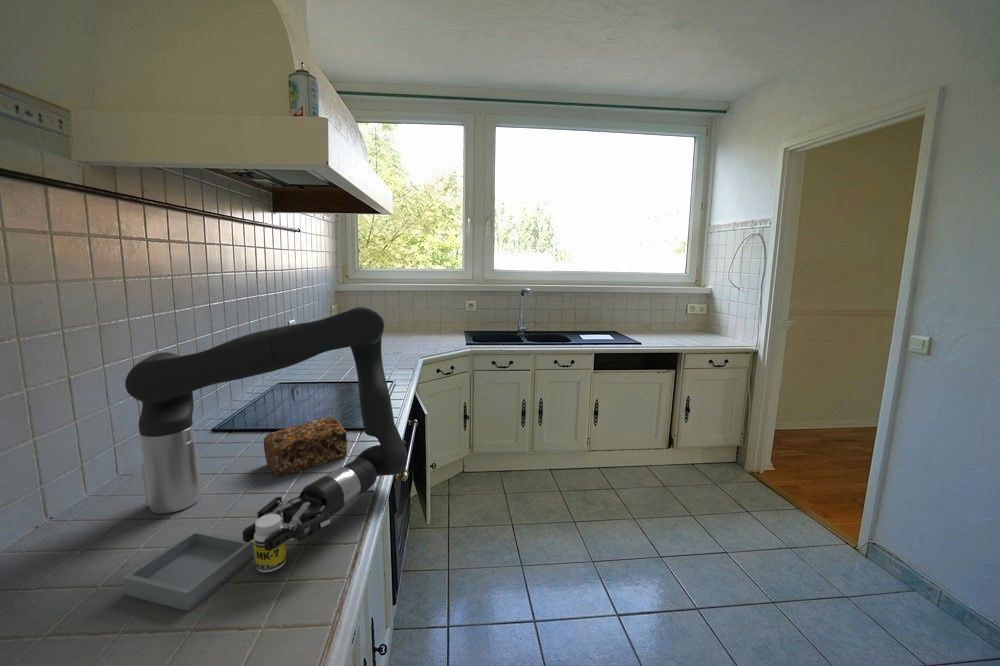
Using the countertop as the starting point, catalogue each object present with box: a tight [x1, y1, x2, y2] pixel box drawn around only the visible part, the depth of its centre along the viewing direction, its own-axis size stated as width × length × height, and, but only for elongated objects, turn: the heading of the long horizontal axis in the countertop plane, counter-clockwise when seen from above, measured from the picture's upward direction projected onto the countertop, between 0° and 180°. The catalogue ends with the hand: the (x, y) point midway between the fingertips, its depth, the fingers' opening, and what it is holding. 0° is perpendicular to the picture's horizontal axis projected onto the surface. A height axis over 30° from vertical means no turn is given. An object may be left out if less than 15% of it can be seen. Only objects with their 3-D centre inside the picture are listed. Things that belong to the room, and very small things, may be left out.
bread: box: [263, 417, 348, 478], centre depth 119 cm, size 19×11×10 cm, turn 130°
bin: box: [121, 529, 255, 612], centre depth 77 cm, size 13×13×3 cm
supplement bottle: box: [253, 514, 287, 573], centre depth 78 cm, size 5×5×8 cm
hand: (255, 541), depth 75 cm, fingers closed on supplement bottle, 4 cm apart
